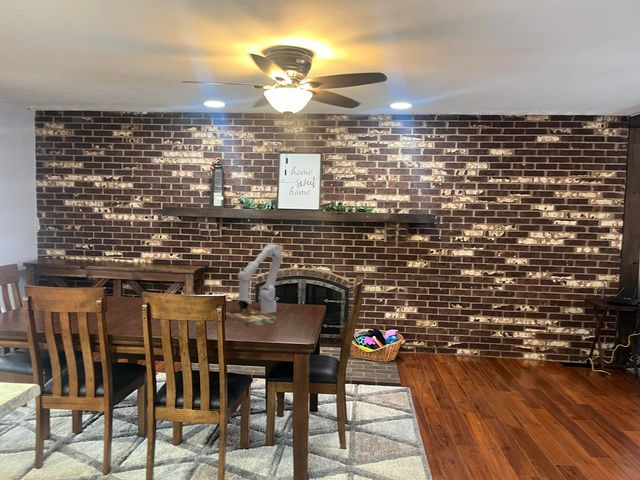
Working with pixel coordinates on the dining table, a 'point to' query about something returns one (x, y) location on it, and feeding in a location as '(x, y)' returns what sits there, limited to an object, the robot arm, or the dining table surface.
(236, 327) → the dining table surface
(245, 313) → the walnut block
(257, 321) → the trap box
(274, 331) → the dining table surface
